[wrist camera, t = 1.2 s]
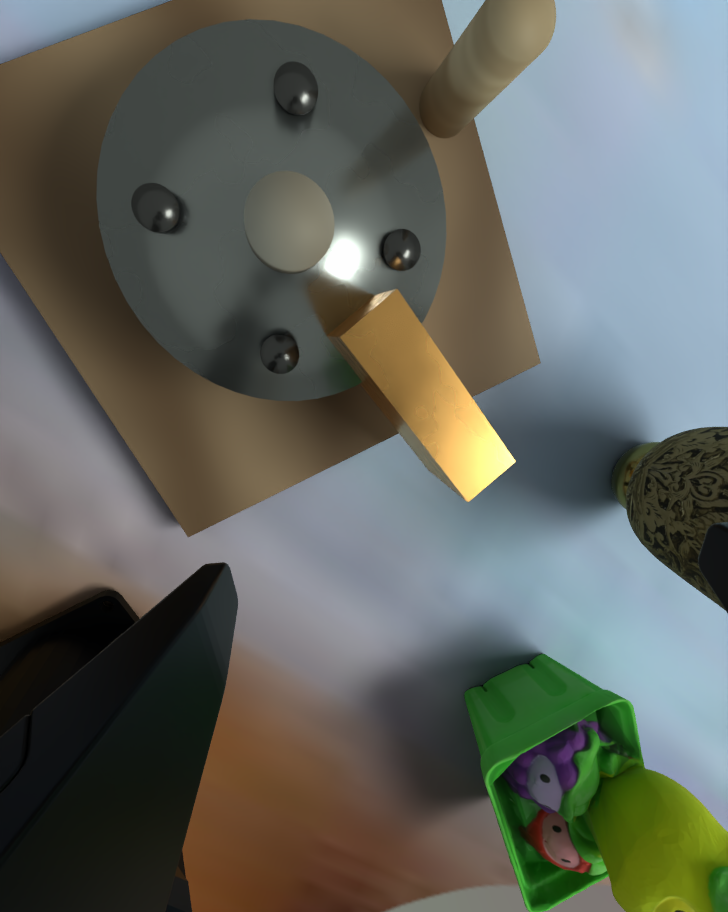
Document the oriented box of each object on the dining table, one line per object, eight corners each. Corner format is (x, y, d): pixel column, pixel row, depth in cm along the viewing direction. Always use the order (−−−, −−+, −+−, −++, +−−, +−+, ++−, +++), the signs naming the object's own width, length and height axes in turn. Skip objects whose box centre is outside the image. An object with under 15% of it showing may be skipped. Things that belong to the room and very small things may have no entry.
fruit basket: (434, 684, 24) (581, 972, 13) (578, 615, 25) (822, 830, 14) (482, 817, 27) (626, 1125, 17) (605, 752, 28) (813, 1003, 18)
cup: (544, 502, 22) (693, 592, 14) (632, 372, 21) (839, 397, 14) (637, 560, 24) (805, 662, 17) (719, 446, 24) (935, 501, 16)
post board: (191, 526, 18) (171, 588, 14) (-75, 117, 13) (-236, 13, 9) (527, 361, 20) (603, 370, 15) (406, -64, 15) (469, -230, 10)
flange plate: (24, 194, 12) (-58, 146, 9) (301, -42, 12) (318, -173, 9) (350, 537, 17) (372, 584, 14) (545, 370, 17) (611, 379, 14)
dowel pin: (429, 146, 15) (501, 71, 11) (412, 87, 15) (479, -18, 10) (474, 127, 16) (563, 46, 11) (458, 68, 15) (545, -43, 11)
